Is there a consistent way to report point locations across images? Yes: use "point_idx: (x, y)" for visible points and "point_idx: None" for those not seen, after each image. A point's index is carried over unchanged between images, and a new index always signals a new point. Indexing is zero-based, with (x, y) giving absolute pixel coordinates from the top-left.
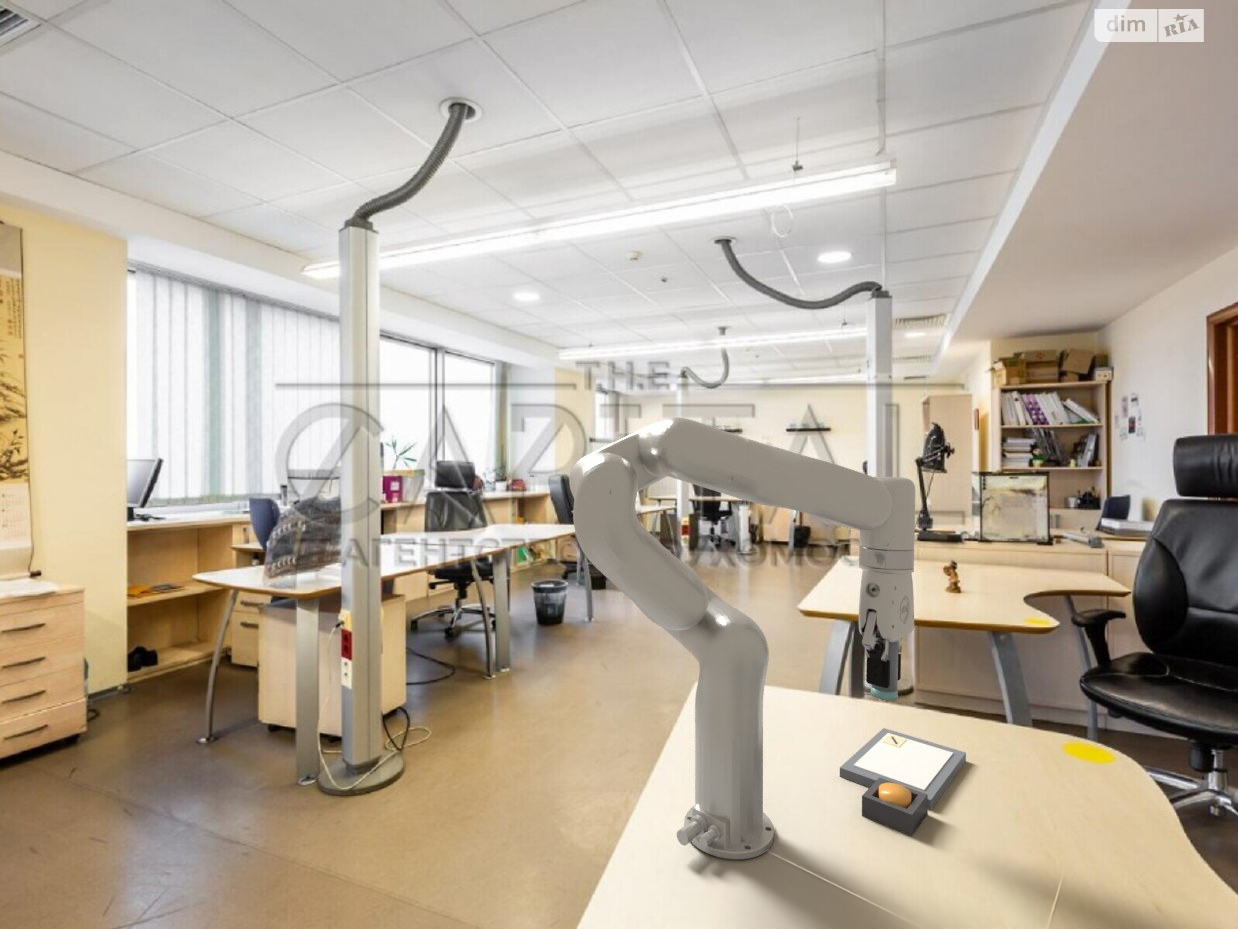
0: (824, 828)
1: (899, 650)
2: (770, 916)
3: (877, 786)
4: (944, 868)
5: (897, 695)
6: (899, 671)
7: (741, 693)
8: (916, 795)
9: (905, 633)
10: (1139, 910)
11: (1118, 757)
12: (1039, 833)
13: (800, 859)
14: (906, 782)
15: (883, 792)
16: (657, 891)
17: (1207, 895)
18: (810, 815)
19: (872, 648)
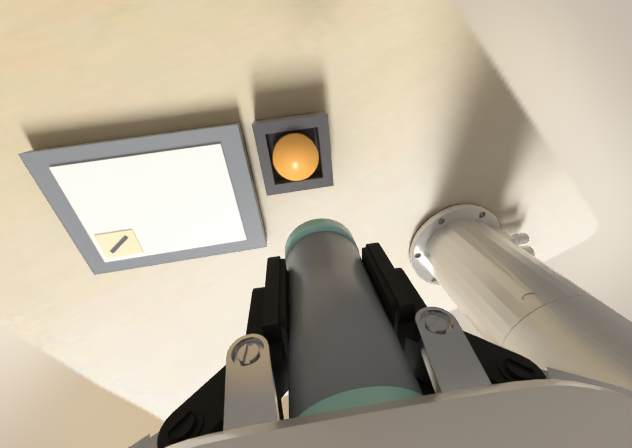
0: (381, 191)
1: (257, 346)
2: (543, 146)
3: (293, 184)
4: (355, 47)
5: (312, 224)
6: (278, 273)
7: None
8: (265, 136)
9: (345, 436)
10: None
11: None
12: None
13: (449, 176)
14: (224, 171)
15: (314, 167)
16: (557, 226)
17: None
18: (369, 214)
19: (586, 378)
